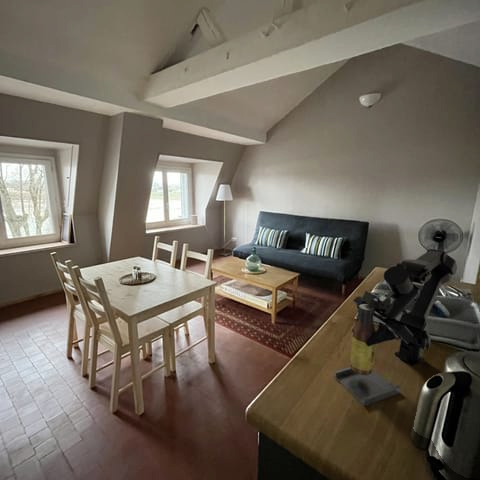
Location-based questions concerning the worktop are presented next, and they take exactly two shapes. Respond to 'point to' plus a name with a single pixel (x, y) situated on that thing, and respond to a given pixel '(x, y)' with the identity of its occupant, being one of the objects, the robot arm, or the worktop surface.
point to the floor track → (366, 385)
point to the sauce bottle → (363, 341)
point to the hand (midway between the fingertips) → (359, 338)
